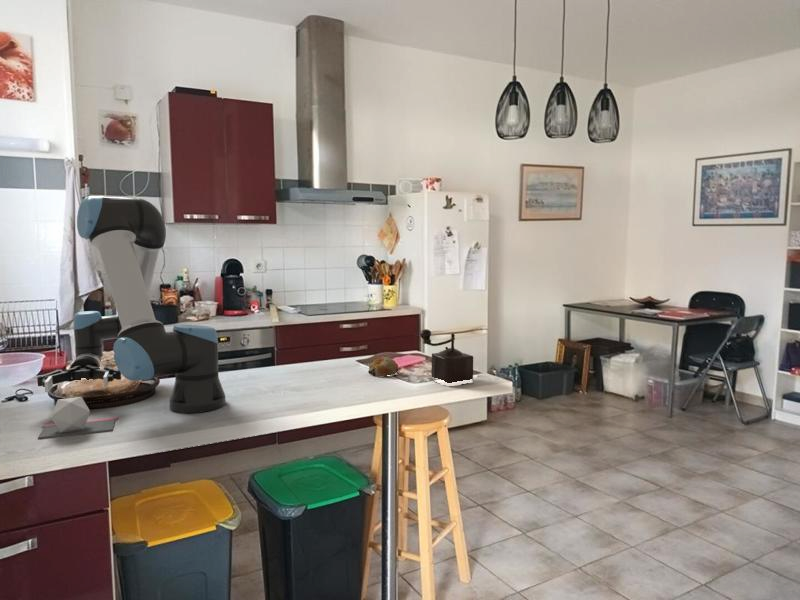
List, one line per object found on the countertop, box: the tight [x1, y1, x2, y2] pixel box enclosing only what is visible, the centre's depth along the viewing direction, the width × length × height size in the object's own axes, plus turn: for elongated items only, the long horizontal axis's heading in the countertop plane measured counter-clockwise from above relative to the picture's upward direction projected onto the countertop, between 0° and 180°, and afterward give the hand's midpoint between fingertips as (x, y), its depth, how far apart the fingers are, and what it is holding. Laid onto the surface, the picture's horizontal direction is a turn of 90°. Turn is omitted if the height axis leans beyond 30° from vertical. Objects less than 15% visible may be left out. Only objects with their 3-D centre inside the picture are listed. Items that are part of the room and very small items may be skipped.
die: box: [51, 396, 90, 433], centre depth 143 cm, size 8×9×10 cm
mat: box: [37, 420, 116, 440], centre depth 145 cm, size 16×8×1 cm, turn 112°
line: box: [42, 416, 119, 428], centre depth 151 cm, size 17×2×1 cm, turn 112°
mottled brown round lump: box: [367, 356, 399, 377], centre depth 204 cm, size 10×10×8 cm
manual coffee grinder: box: [419, 328, 474, 383], centre depth 193 cm, size 16×11×18 cm
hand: (76, 384), depth 152 cm, fingers open, 13 cm apart
